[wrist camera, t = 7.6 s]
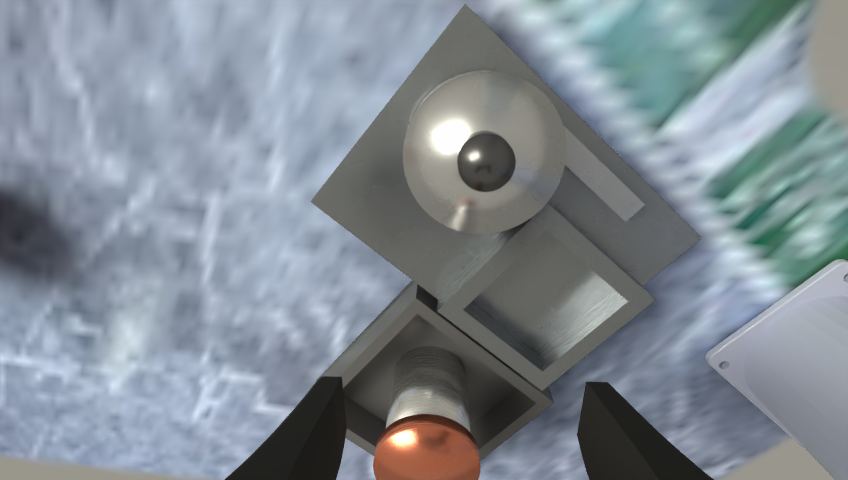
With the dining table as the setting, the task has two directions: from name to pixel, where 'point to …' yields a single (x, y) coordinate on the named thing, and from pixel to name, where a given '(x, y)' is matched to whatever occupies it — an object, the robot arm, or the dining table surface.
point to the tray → (424, 326)
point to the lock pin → (427, 421)
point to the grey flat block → (505, 206)
